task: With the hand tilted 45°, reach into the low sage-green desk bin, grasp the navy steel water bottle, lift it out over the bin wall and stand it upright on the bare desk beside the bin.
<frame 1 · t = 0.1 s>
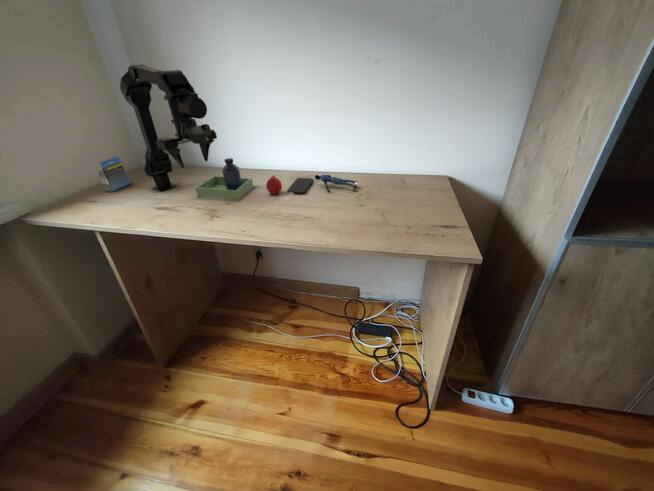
hand: (194, 164, 102), 15 cm above the table, tool pointing down, fingers open, 9 cm apart
tape cartridge: (118, 188, 126), on the table
onion: (275, 195, 116), on the table
person figurine: (336, 188, 120), on the table
phone: (300, 186, 122), on the table
bin: (226, 192, 118), on the table
bottle: (235, 192, 117), point 1 cm above the table, touching bin
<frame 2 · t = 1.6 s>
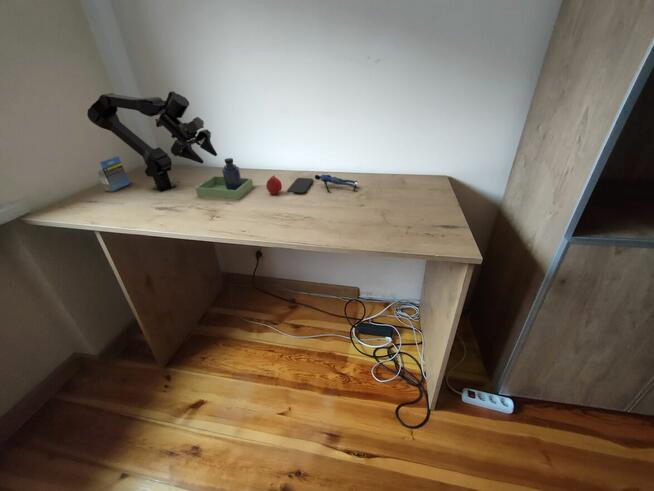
hand: (210, 158, 112), 13 cm above the table, tool tilted 45°, fingers open, 9 cm apart
nothing on the table moved.
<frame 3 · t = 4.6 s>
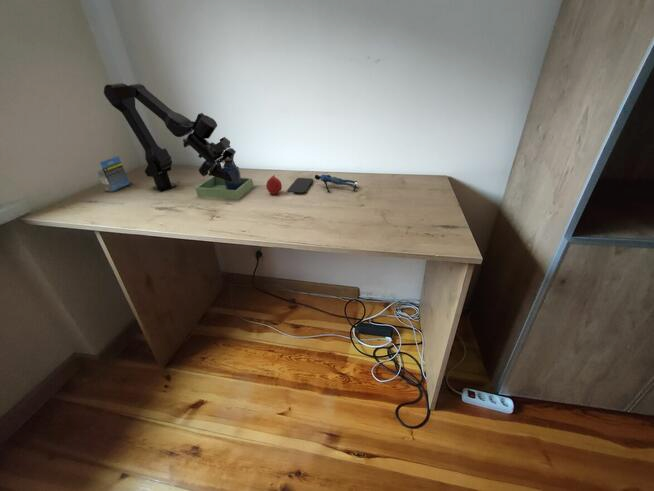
hand: (235, 177, 114), 7 cm above the table, tool tilted 45°, fingers closed on bottle, 6 cm apart
bottle: (235, 191, 117), point 1 cm above the table, touching bin, gripper
everything else where it was.
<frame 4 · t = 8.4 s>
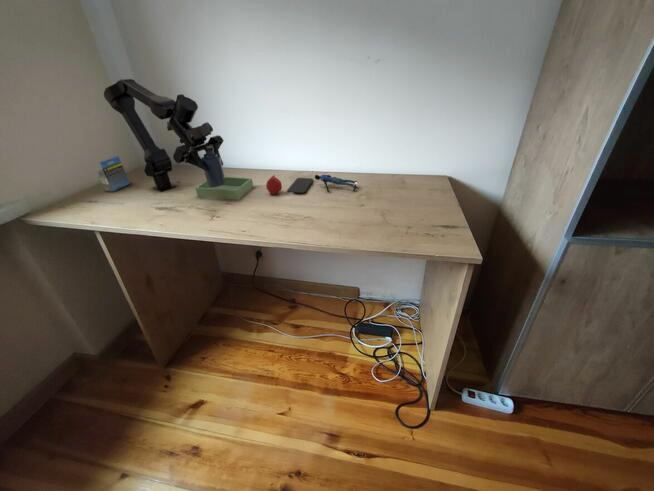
hand: (215, 167, 104), 13 cm above the table, tool tilted 45°, fingers closed on bottle, 6 cm apart
bottle: (216, 183, 108), point 7 cm above the table, touching gripper
everything else where it was.
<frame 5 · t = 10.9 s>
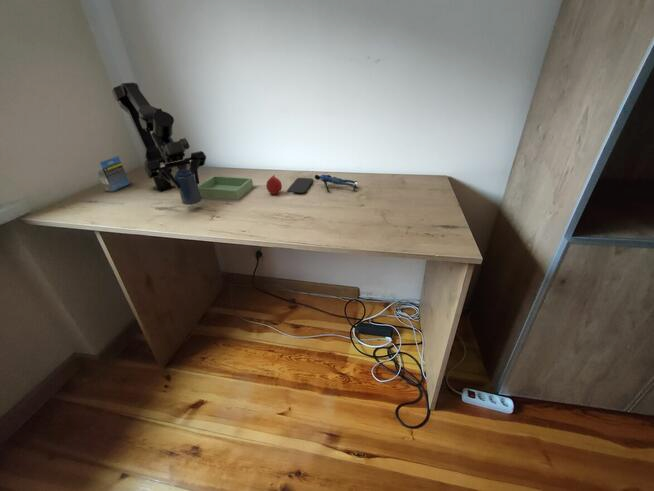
hand: (188, 185, 99), 10 cm above the table, tool tilted 45°, fingers closed on bottle, 6 cm apart
bottle: (192, 200, 103), point 4 cm above the table, touching gripper
everything else where it was.
when the fingers open (6 cm above the table, at t = 12.5 s): bottle stays where it is, on the table.
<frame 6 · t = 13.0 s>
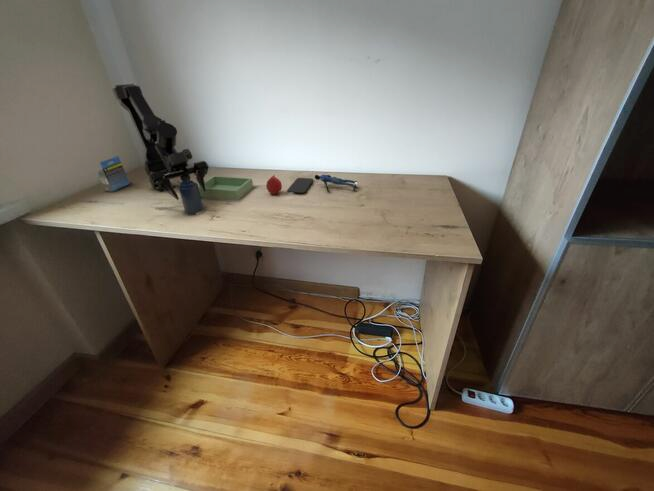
hand: (191, 195, 101), 6 cm above the table, tool tilted 45°, fingers open, 9 cm apart
bottle: (195, 210, 105), on the table
everything else where it was.
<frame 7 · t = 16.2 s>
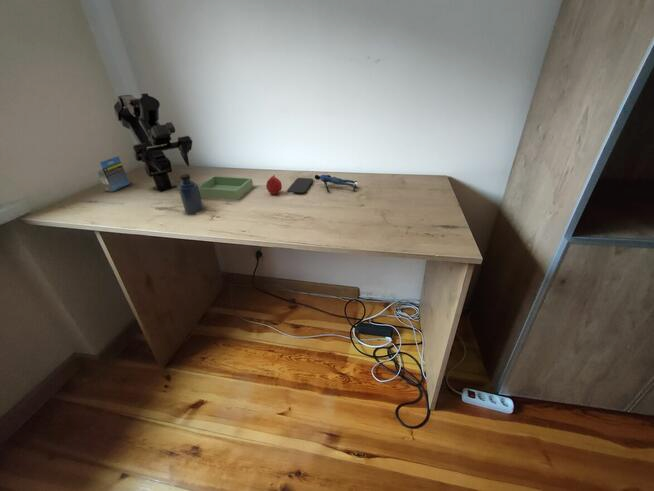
hand: (175, 168, 103), 14 cm above the table, tool tilted 45°, fingers open, 9 cm apart
nothing on the table moved.
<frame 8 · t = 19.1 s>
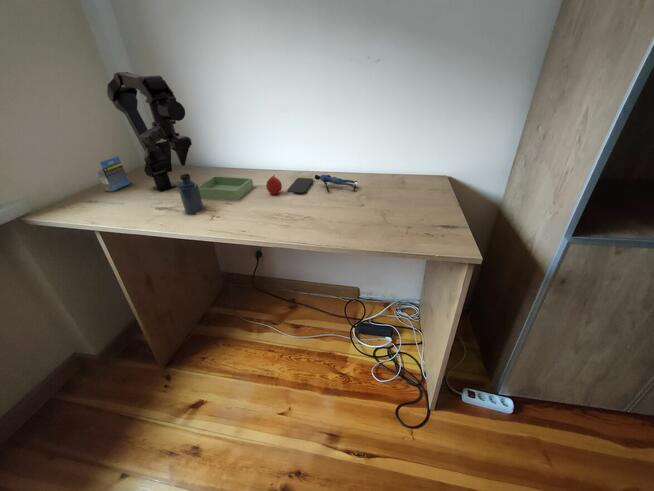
hand: (176, 163, 109), 13 cm above the table, tool pointing down, fingers open, 9 cm apart
nothing on the table moved.
at the end: bottle inside the target area (0.1 cm from its centre), on the table; bottle tilted 0°; the gripper is holding nothing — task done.
